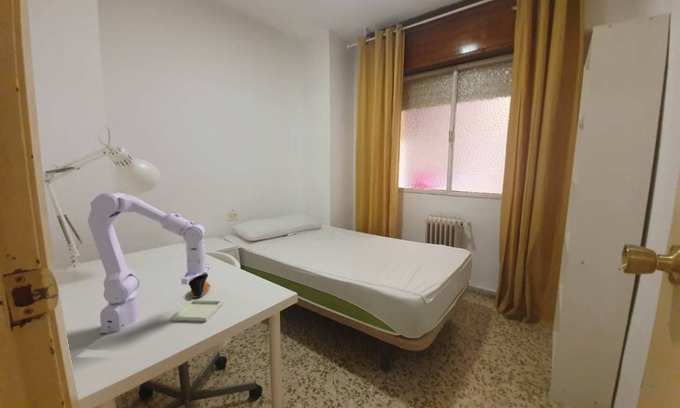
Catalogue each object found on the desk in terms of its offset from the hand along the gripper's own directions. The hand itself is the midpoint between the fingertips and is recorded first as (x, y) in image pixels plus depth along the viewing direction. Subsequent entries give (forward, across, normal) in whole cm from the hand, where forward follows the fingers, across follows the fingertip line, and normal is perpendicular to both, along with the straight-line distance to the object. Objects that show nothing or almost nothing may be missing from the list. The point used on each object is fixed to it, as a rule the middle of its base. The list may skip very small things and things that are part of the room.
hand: (198, 295), depth 93 cm
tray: (+6, 0, 0) cm, 6 cm away
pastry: (+7, +12, +9) cm, 16 cm away
